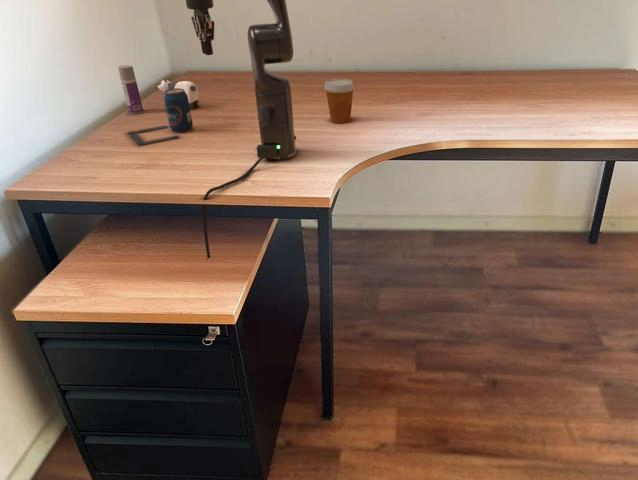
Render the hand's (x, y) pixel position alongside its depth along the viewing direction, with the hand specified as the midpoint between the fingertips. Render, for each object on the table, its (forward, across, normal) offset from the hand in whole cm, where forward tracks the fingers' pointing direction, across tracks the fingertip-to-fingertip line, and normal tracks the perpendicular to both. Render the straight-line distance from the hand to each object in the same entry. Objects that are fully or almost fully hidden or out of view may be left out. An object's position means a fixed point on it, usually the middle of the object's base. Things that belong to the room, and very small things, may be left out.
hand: (207, 53), depth 164 cm
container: (+21, -28, -19) cm, 40 cm away
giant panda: (+21, -25, -4) cm, 33 cm away
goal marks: (+21, 0, -20) cm, 29 cm away
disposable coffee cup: (+21, +21, +33) cm, 45 cm away
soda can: (+21, 0, -12) cm, 24 cm away
